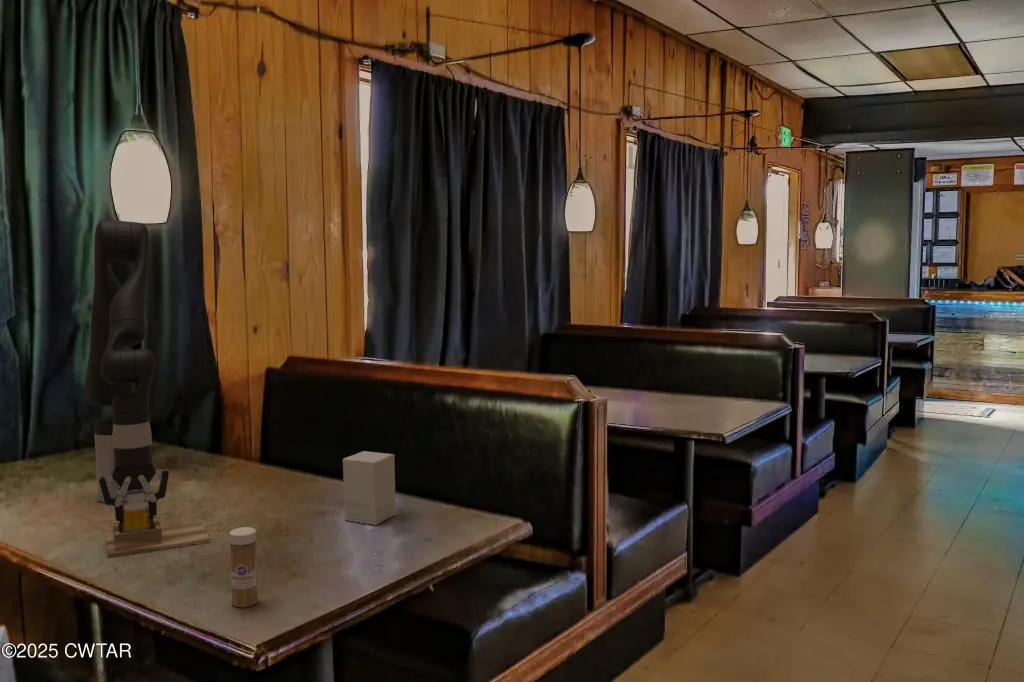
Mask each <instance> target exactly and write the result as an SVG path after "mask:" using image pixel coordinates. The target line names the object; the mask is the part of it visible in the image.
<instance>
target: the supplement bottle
mask: <svg viewBox="0 0 1024 682" xmlns="http://www.w3.org/2000/svg"><path fill="white" fill-rule="evenodd" d="M146 496H147V494H146V492H145V490H144V489H143V490H133V491H129V492H126V494H125V500H126V501H124V502H123V504H122V510H123V533H127V532H134V531H141V530H148V529H150V506H149V500H147V499H146Z"/></svg>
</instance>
